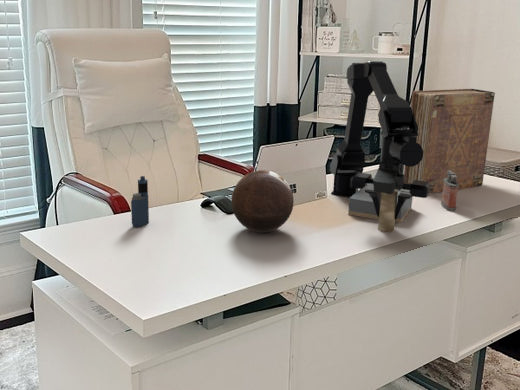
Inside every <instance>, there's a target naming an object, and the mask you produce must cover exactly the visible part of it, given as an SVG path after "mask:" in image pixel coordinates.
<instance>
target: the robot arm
mask: <svg viewBox="0 0 520 390" xmlns="http://www.w3.org/2000/svg"><path fill="white" fill-rule="evenodd" d="M387 70H388V68H387V63H386V62H384V61H378V60H377V61H374V60H373V61H370V60H369V61H366V62H352V63H351V65H348V67H347V69H346V83H347V85H348V88H349V90H350V101H349V107H348V114H347V121H346V126H345V131H344V139H343V141H342V142H341V143H340V144H339V145H338V146H337V148H336V153H335V155H334V156H333V158H332V160H331V162H330V163H329V172H330V173H331V174H332V175H333V189H332V191H331V192H330V194H331V195H336V196H344V197H349V198H350V197H352V196H353V195H354V194H355V193H356V192H357V191H359V190H360V189H362V188H364V187H365V186H366V190H365V192H366V193H369V195H370V196H371V198H372V200H373V203H374V206H375V210H376V214H377V217H379V211H380V200H381V193H386V194H393V193H394V190H397V191H400V192H401V193H400V194H399V195H398V202H397V206H396V211H395V220H396V219H397V218H398V216H399V213H400V211H401V209H402V207H403V205H404V203H405V201H406V200H407V199H410V198H411V197H412V196H413V197H414V198H420V199H421V198H422V199H427V198H428V196H429V195H430V194H431V193H430V189H431V184H430V183H429V182H427V181H419V180H414V181H413V183H412V184H411V183H404V180H405V178H404V169H405V166H408V167H412V166H415V165H417V164H419V163H420V161H421V160H422V158H423V153H424V152H423V149H422V147H421V145H420V144H418V143H416V141H417V137H415V136H418V125H417V122H416V119H415V116H414V112H413V110H412V108H411V104H409V102H408V101H407V100H406V99H404V98H402V97H401V96H399V94H398V92H397V90H396V88H395V85H394V84H393V82H392V81H393V80H392V79H391V76H390V75H389V72H388V71H387ZM373 92H374V95H375V97H376V100H377V102H378V105H379V107H380V109H379V111H378V114H377V116H378V122H379V126H380V128H381V132H380V135H381V136H382V138H381V147H380V149H381V151H380V159H379V160H380V161H379V163H378V169H377V171H376V173H375V174H374V177H372V173H365V172H363V171H364V168H365V164H366V159H365V157H366V154H365V152H364V149H363V147H362V145H361V142H362V136H363V132H364V124H365V119H366V112H367V108H368V100H369V97H370V96H371V94H372V93H373ZM429 193H430V194H429Z"/></svg>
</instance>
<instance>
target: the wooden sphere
mask: <svg viewBox="0 0 520 390" xmlns="http://www.w3.org/2000/svg"><path fill="white" fill-rule="evenodd" d="M294 202H295V201H294V193H293V191H292V188H291V186H290V184H289V183H288V182H287V180H286V179H285V178H284V177H282V176H281V175H280V174H278V173H276V172H273V171H270V170H265V169H264V170H263V169H261V170H260V169H259V170H254V171H251V172H249V173H247V174H245V175H244V176H243V177H241V178H240V179H239V180H238V182H237V183H236V184H235V187H234V188H233V191H232V195H231V209H232V212H233V214H234V216H235V219H236V220H237V221H238V222H239V223H240V224H241V226H243V227H245V228H246V229H248V230H250V231H252V232H255V233H268V232H273V231H275V230H278V229H279V228H281V227H282V226H283V225H284V224H286V222H287V221H288V219H289V218H290V217H291V215H292V212H293V209H294Z"/></svg>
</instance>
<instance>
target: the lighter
mask: <svg viewBox="0 0 520 390" xmlns="http://www.w3.org/2000/svg"><path fill="white" fill-rule="evenodd" d="M447 175H448V176H449V177H448V178H444V188H443V192H442V196H441V199H440V205H441V207H442V208H443V209H445V211H448V212H456V211H457V200H458V192H459V189H458V188H459V183H458V182H457V181H456V179H457V176H456V173H453V172H452V171H447Z"/></svg>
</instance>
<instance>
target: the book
mask: <svg viewBox="0 0 520 390" xmlns="http://www.w3.org/2000/svg"><path fill="white" fill-rule="evenodd" d="M495 95H496V92H494V91H489V90H482V89H476V88H458V89H457V88H455V89H433V90H431V89H429V90H428V89H427V90H413V91H412V93H411V103H410V107H411V108H412V110H413V112H414V116H415V119H416V122H417V125H418V136H415V137H417V141H416V143H418V144H420V145H421V147H422V149H423V152H424V153H423V158H422V160H421V161H420V163H419V164H417V165H415V166H412V167H408V166H405V165H404V170H403V174H404V178H405V180H404V183H411V184H412V183H413V181H414V180H419V181H427V182H429V183H430V184H431V189H430V193H429V195H430V194H436V193H443V188H444V178H448V177H449V176H448V175H447V171H452V172H453V173H456V176H457V179H456V181H457V182H458V183H459V188H458V190H461V189H469V188H475V187H481V186H483V182H484V175H485V169H486V167H485V166H486V161H487V153H488V145H489V138H490V131H491V125H492V123H491V122H492V115H493V109H494V102H495V101H494V100H495Z"/></svg>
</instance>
